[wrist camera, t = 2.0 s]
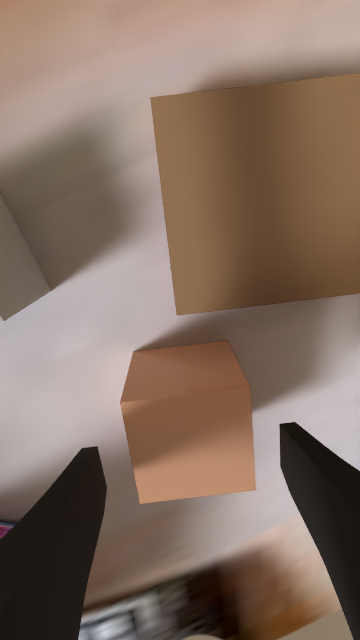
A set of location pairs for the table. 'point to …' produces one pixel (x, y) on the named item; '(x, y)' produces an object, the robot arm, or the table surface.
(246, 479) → the terracotta cube
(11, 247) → the grey cube
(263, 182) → the walnut block
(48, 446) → the table surface
